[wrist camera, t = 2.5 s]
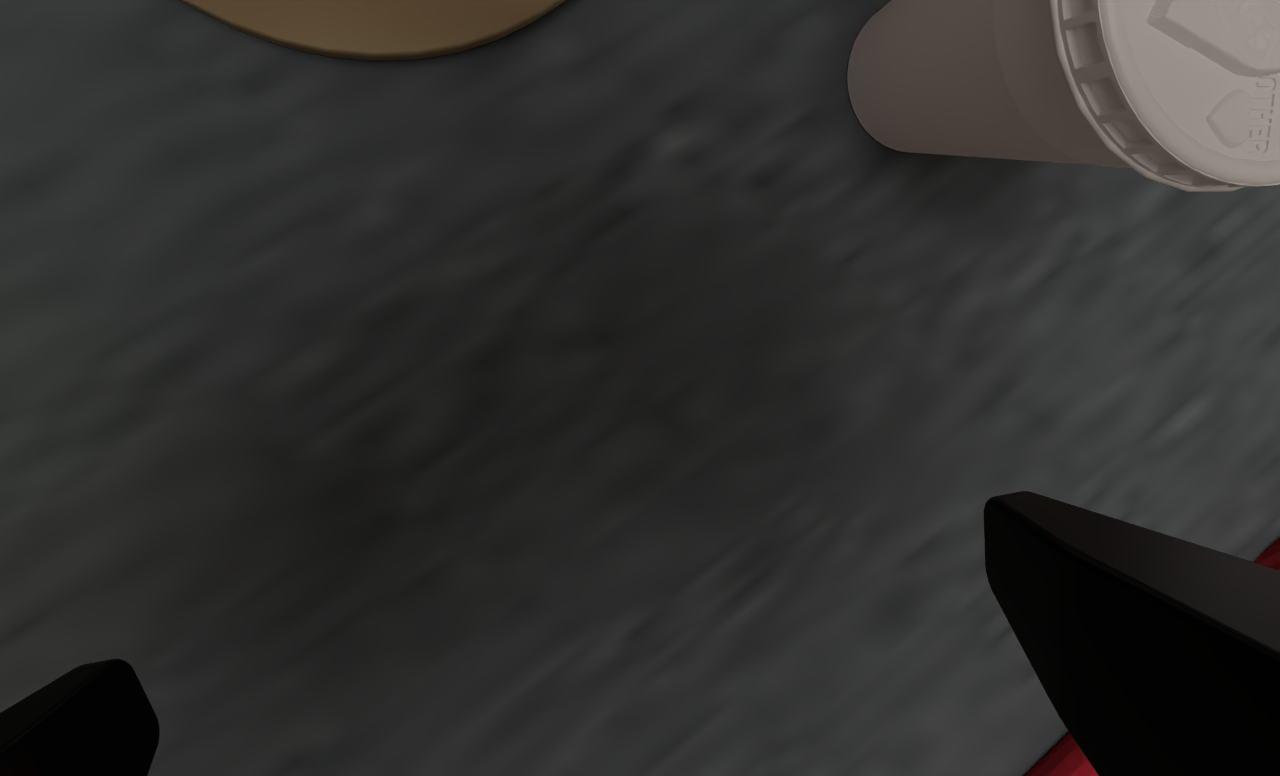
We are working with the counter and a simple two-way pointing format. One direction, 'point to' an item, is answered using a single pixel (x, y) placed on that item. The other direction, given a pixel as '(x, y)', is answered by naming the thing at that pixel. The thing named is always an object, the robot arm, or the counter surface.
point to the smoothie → (1079, 84)
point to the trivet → (377, 24)
